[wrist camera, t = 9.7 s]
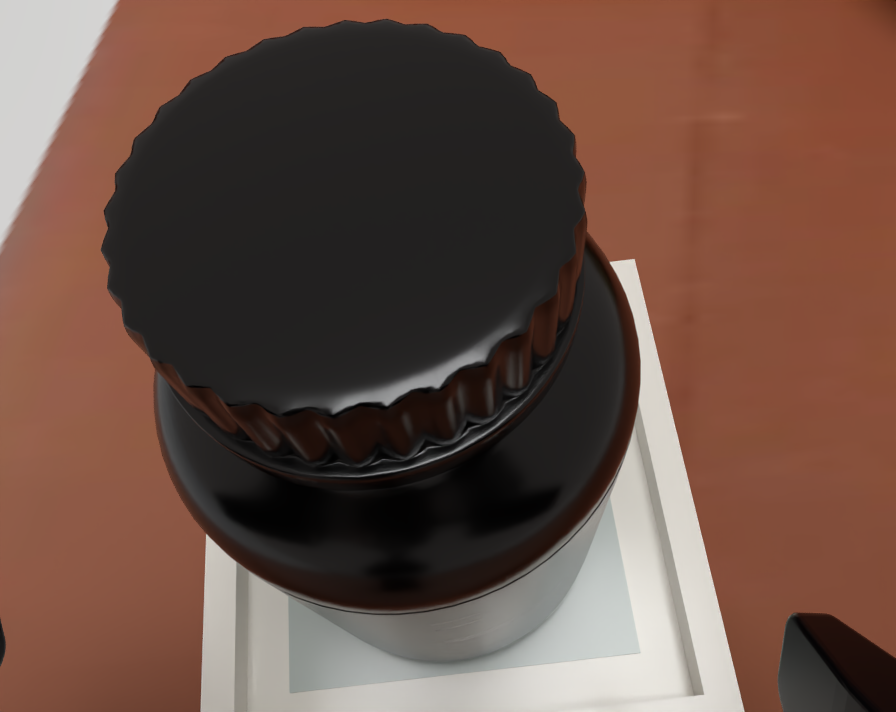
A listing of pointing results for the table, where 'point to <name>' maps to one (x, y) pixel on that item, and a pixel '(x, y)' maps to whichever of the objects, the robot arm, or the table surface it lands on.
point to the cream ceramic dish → (537, 653)
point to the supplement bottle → (379, 330)
